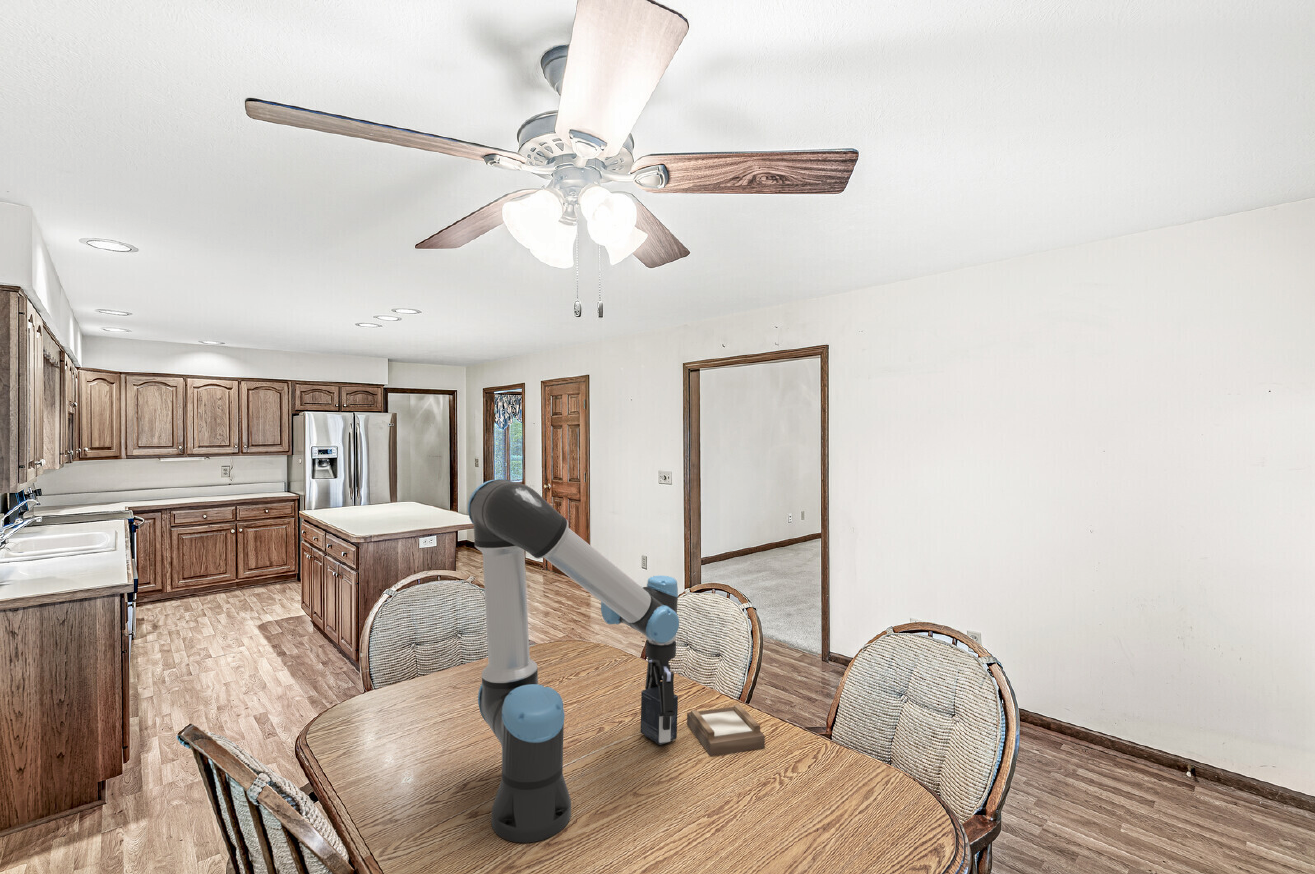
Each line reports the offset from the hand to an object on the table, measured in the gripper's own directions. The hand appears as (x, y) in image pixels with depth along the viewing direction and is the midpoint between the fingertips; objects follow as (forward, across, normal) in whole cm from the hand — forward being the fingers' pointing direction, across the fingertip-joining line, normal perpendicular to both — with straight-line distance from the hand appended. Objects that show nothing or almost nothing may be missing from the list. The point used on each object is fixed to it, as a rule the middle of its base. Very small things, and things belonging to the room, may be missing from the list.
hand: (658, 731), depth 145 cm
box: (+1, 0, 0) cm, 1 cm away
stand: (+1, -3, -16) cm, 17 cm away
